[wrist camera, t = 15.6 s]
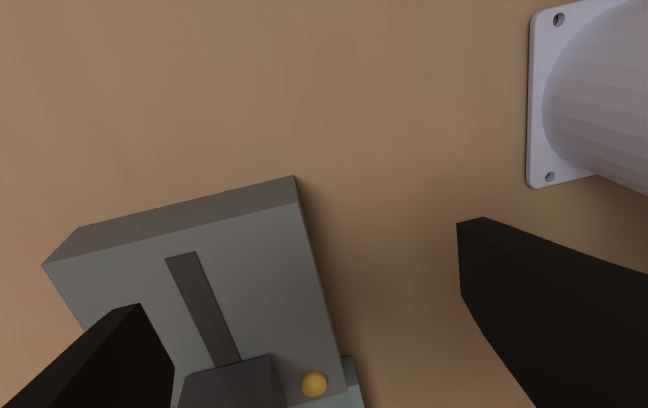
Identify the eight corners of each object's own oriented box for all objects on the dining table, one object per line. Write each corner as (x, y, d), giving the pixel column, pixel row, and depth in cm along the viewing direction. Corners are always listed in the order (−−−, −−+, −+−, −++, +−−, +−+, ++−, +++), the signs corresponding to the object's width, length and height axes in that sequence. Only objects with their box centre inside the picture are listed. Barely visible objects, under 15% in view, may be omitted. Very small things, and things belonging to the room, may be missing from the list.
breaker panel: (293, 175, 17) (298, 207, 14) (338, 347, 22) (350, 400, 19) (77, 227, 17) (33, 272, 14) (170, 390, 22) (153, 451, 19)
